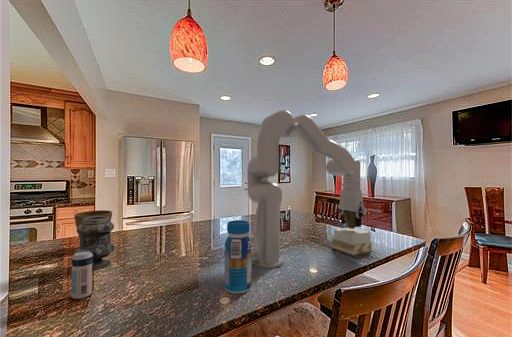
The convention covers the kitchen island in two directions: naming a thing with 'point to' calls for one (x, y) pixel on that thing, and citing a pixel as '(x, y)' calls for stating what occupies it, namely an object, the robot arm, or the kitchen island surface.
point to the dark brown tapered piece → (350, 219)
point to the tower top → (352, 236)
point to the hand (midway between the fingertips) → (351, 224)
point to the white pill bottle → (81, 274)
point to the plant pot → (82, 215)
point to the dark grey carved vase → (96, 239)
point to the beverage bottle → (238, 257)
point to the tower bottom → (351, 247)
